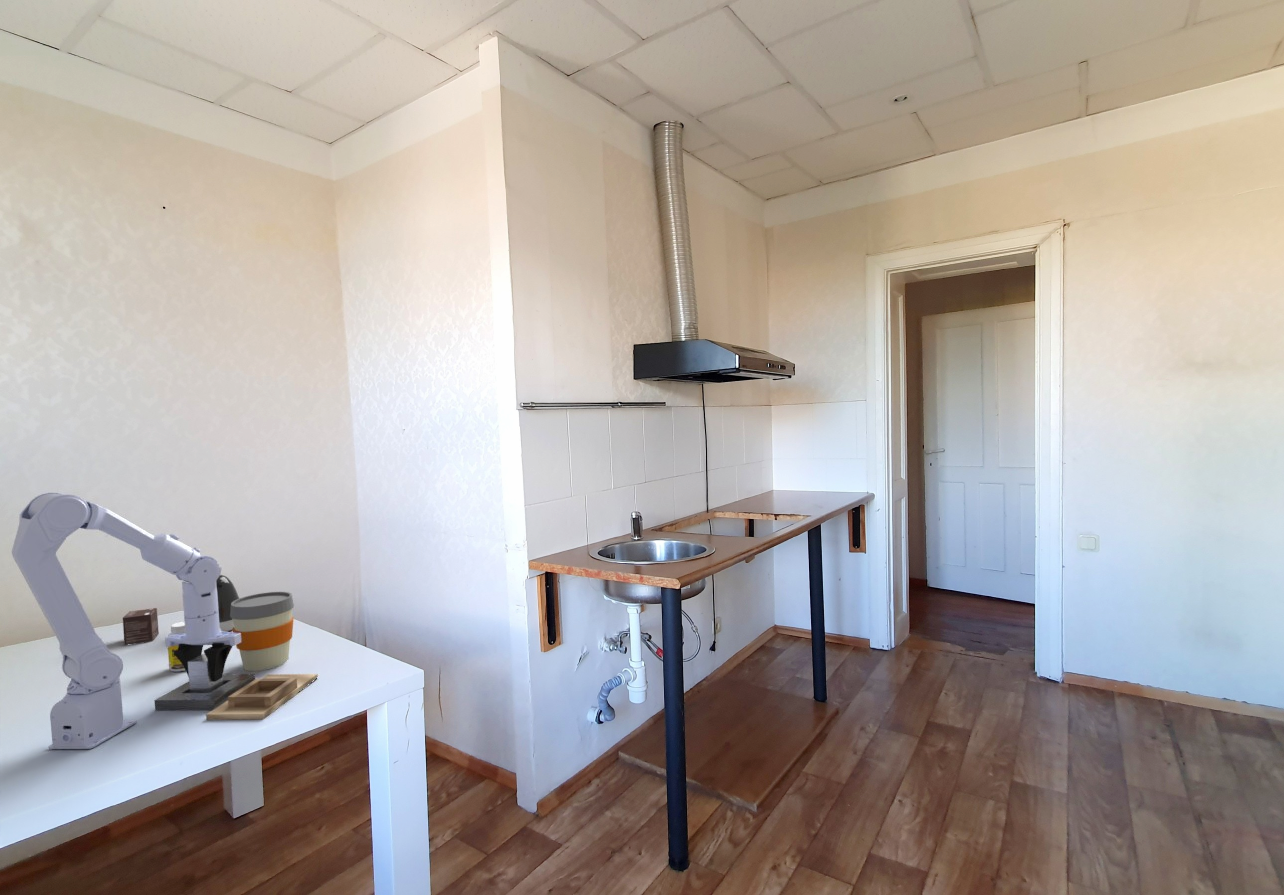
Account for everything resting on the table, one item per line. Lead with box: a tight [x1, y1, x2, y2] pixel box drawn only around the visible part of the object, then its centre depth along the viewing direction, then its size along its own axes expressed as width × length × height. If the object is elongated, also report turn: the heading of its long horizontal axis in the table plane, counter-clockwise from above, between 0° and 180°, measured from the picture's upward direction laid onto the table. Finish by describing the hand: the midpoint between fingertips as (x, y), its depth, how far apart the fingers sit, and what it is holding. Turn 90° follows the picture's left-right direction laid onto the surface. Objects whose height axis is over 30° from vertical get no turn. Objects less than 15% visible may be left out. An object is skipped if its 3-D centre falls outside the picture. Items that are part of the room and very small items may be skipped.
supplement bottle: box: [166, 621, 186, 673], centre depth 144 cm, size 6×6×10 cm
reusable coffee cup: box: [230, 591, 295, 672], centre depth 145 cm, size 13×13×15 cm
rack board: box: [205, 673, 319, 721], centre depth 126 cm, size 18×11×3 cm, turn 177°
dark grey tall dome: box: [216, 574, 240, 632], centre depth 169 cm, size 10×10×15 cm
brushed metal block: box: [188, 653, 224, 693], centre depth 128 cm, size 4×4×8 cm
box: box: [122, 607, 160, 646], centre depth 164 cm, size 6×6×7 cm
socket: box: [154, 673, 256, 711], centre depth 128 cm, size 12×12×2 cm
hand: (206, 679), depth 128 cm, fingers closed on brushed metal block, 4 cm apart
